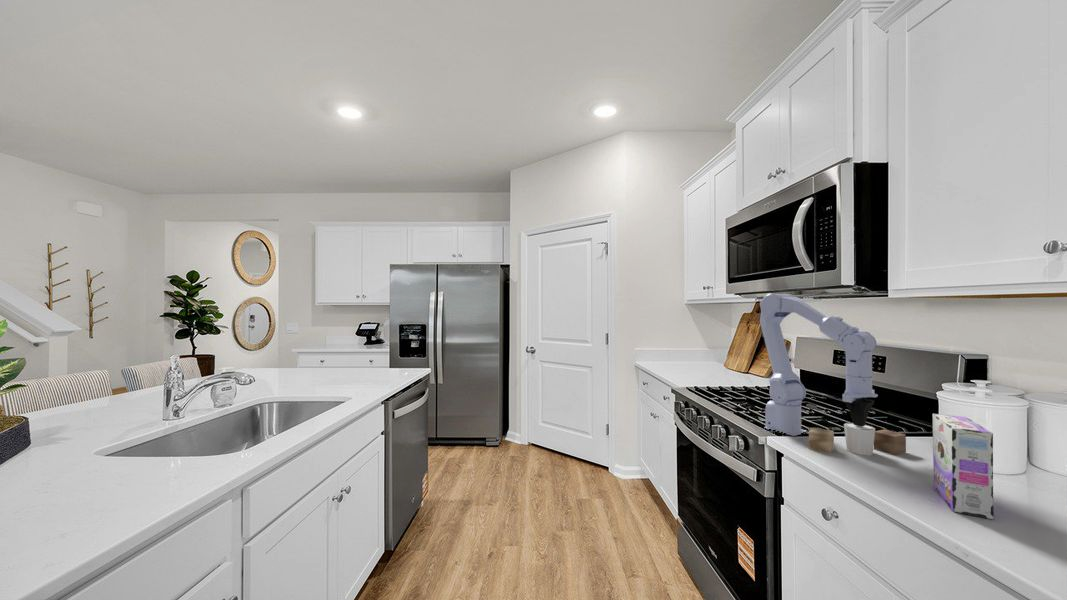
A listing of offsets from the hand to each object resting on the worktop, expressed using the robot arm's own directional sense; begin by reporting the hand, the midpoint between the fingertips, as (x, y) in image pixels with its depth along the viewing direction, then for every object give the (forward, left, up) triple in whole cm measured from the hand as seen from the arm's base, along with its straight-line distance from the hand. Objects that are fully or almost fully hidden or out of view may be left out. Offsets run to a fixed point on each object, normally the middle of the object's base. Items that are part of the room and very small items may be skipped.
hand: (859, 425), depth 114 cm
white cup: (0, 0, -7) cm, 7 cm away
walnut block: (+4, +8, -7) cm, 12 cm away
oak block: (-6, -7, -7) cm, 12 cm away
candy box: (+24, -17, -7) cm, 30 cm away
